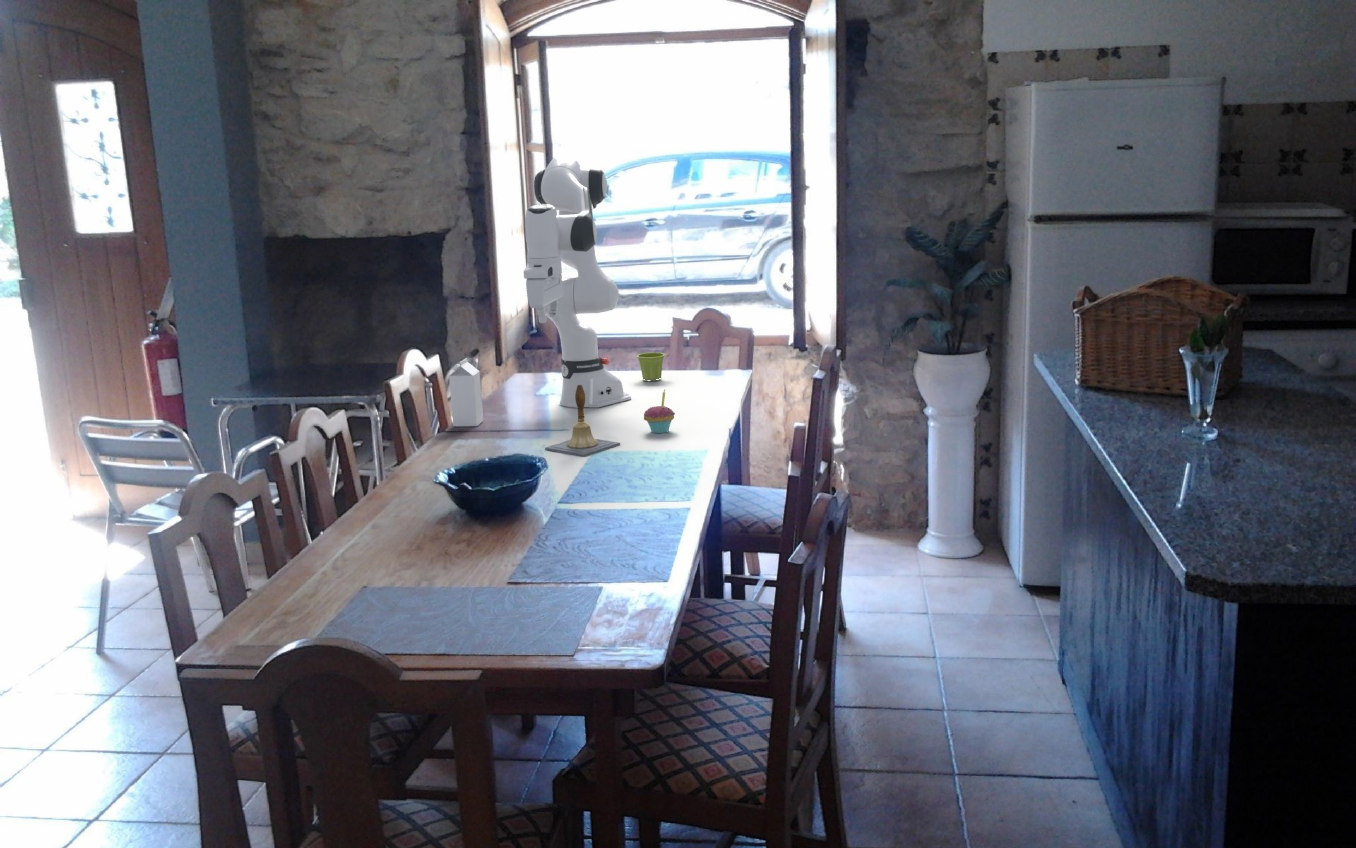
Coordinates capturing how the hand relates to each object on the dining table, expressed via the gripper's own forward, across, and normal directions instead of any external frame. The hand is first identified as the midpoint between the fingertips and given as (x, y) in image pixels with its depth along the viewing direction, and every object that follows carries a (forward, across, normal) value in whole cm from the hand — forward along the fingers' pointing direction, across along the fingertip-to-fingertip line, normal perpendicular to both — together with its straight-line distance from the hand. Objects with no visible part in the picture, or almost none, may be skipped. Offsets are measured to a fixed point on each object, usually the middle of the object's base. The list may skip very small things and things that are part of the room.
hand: (548, 319), depth 310 cm
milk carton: (+34, -16, -32) cm, 49 cm away
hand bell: (+32, +9, +10) cm, 35 cm away
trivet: (+33, +9, +10) cm, 35 cm away
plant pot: (+36, -83, +9) cm, 90 cm away
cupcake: (+33, -9, +27) cm, 44 cm away
